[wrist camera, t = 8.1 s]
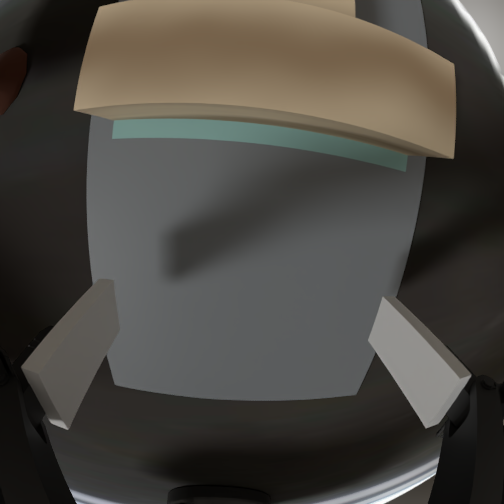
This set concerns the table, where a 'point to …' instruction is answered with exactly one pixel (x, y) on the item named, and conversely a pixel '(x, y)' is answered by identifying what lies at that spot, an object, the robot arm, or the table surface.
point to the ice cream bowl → (11, 75)
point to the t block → (269, 71)
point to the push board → (249, 247)
